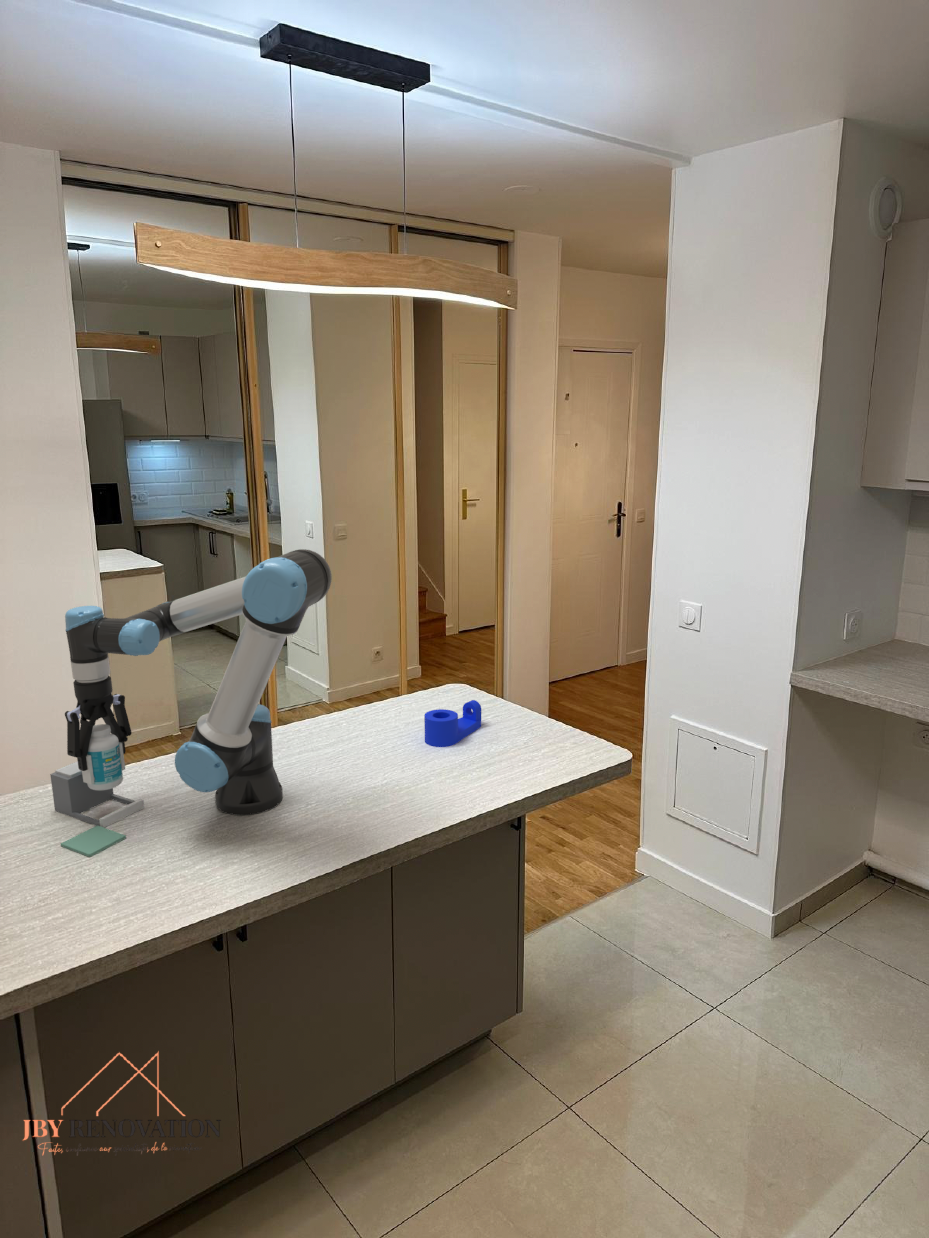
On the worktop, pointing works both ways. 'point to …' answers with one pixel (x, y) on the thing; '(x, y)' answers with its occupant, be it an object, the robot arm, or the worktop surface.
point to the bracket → (451, 725)
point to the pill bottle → (105, 758)
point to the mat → (93, 841)
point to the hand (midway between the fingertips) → (104, 775)
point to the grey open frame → (86, 797)
